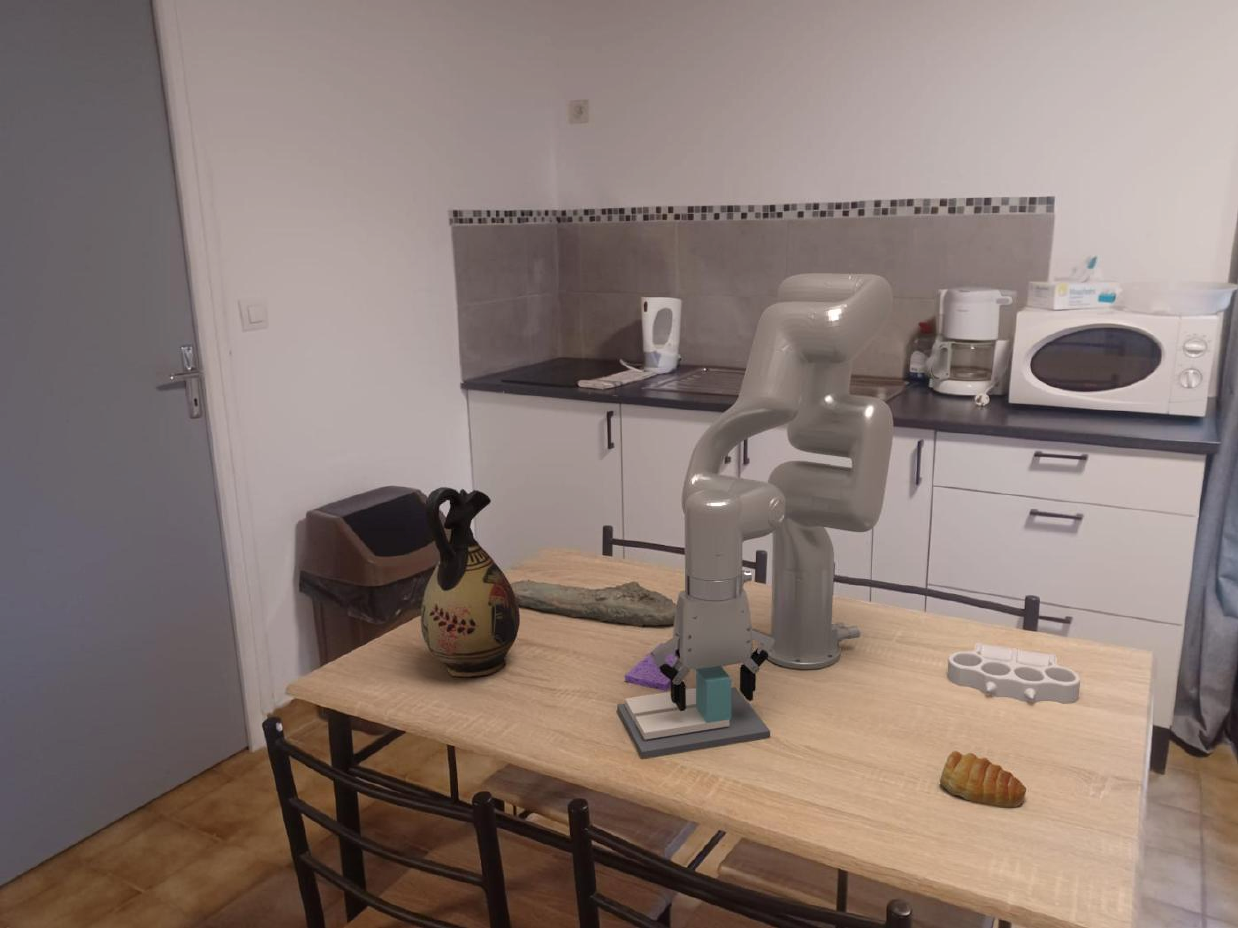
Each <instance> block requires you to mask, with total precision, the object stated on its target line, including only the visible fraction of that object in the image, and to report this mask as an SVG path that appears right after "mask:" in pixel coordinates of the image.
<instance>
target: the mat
mask: <svg viewBox="0 0 1238 928" xmlns="http://www.w3.org/2000/svg"><path fill="white" fill-rule="evenodd" d="M616 709H617V710H616V711H617V713H618V715H619V717H620V719H621V720H622V721H621V722H622V723H623V725H624V727H625V729H626V731H627V732H628V734H629V736H630V738H631V741H632V742H633V744H634V746H635V748H636V750H637V752H638V754H639V756H640V757H641V759H643V760H644V759H650V758H655V757H656V758H657V757H661V756H667V755H674V754H679V753H686V752H692V751H697V750H698V751H699V750H703V749H709V748H714V747H721V746H727V745H734V744H739V743H745V742H752V741H758V740H764V739H770V738H771V730H770V729H769V727H768V726H767V725H766V723H765V722H764V721H763V720H762V718H761V717H760V716H759V715H758V714H757V713H756V711H755V710H754V708H753V707H752V706H751V705H750V704H749V702H748V700H747V699H746V698H745V697H744V695H743V694H742V693H741V692H740V690H738V689H737V687H736V686H733V687H732V686H731V719H729V726H727V727H720V728H714V729H708V730H702V731H695V732H689V733H683V734H677V735H670V736H664V737H658V738H652V739H646V740H644V738H643V736H642V734H641V732H640V731H639V729H638V727H637V725H636V721H633V720H632V718H631V716H630V714H629V712H628V710H627V708H626V707H625V702H624V703H619V704H618V703H617V704H616Z"/></svg>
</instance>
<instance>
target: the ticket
mask: <svg viewBox="0 0 1238 928" xmlns="http://www.w3.org/2000/svg"><path fill="white" fill-rule="evenodd" d="M624 703H625V707H626V708H627V710H628V712H629V714H630V716H631V718H632V720H633V721H635V717H637V716H644V715H650V714H657V713H663V712H670V711H676V710H679V708H678V707H677V705H676V704H675V703H673V702H672V700H671V691H665V692H660V693H654V694H646V695H640V696H634V697H628V698H624ZM695 707H696V687H694V688H688V689H687V688H686V709H689V708H695Z"/></svg>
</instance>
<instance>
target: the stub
mask: <svg viewBox="0 0 1238 928" xmlns="http://www.w3.org/2000/svg"><path fill="white" fill-rule="evenodd" d="M731 687H732V677H731V676H730V675H729V674H728V672H727V671H726V670H725V669H724V667H723V666H718V667H711V668H704V669H696V670H695V688H696V707H695V708H689V709H686V710H685V711H680V710H676V711H670V712H663V713H657V714H650V715H644V716H637V717H635V721H636V725H637V727H638V729H639V731H640V732H641V734H642V736H643V738H644V740H646V739H652V738H658V737H664V736H670V735H677V734H683V733H689V732H695V731H702V730H708V729H714V728H720V727H727V726H729V719H731Z"/></svg>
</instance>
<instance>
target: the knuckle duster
mask: <svg viewBox="0 0 1238 928" xmlns="http://www.w3.org/2000/svg"><path fill="white" fill-rule="evenodd" d="M1057 658H1058V657H1057V655H1055V653H1049V654H1047V653H1041V652H1035V651H1030V650H1029V651H1028V650H1023V649H1022V650H1021V649H1018V648H1015V647H1013V648H1009V647H1003V646H998V645H991V644H984V643H983V642H976V643H975V645H974V650H971V651H958V652H954V653H952V654H950V655H949V657H948V659H947V674H946V675H947V676H946V677H947V679H948V680H949V681H950V682H951V683H952V684H954V685H956V686H958V687H967V688H971V689H975V690H978V691H979V692H981V693H983V694H985V695H990V696H992V697H995V698H1001V697H1002V698H1010V699H1014V700H1018V701H1020V702H1025V703H1026V702H1028V703H1039V702H1046V701H1047V702H1054V703H1059V704H1062V705H1065V704H1067V705H1068V704H1073V703H1076V702H1077V701H1079V700H1078V699H1079V696H1080V687H1081V677H1080V675H1079V674H1078V673H1077V672H1076V671H1074V670H1073V669H1070V668H1068V667H1065V666H1062V665H1060V664H1058V662H1057V661H1058V659H1057Z"/></svg>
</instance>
